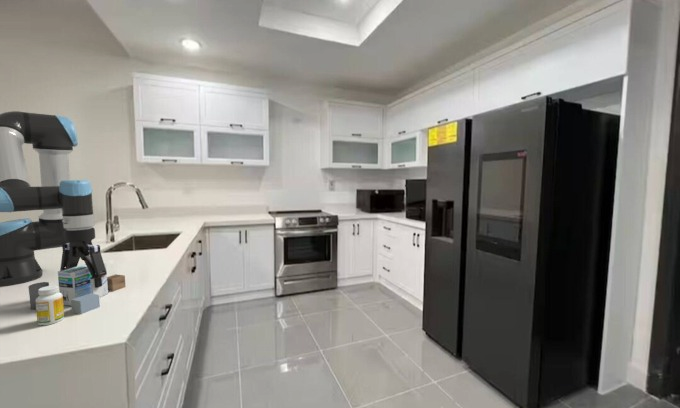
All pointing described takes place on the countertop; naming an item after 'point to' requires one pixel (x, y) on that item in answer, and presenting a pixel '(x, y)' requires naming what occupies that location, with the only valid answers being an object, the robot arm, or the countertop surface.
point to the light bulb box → (77, 283)
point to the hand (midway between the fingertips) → (85, 294)
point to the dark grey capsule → (35, 293)
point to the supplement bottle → (49, 305)
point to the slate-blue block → (85, 303)
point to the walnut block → (116, 282)
